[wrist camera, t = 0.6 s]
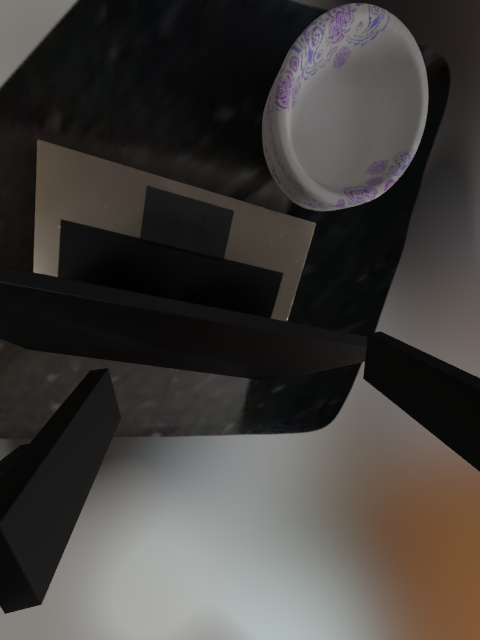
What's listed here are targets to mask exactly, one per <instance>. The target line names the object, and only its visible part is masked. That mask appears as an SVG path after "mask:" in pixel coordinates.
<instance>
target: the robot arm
mask: <svg viewBox="0 0 480 640" xmlns="http://www.w3.org/2000/svg"><path fill="white" fill-rule="evenodd" d="M364 379H365V380H366V381H367V382H368V383H370V384H371V385H372V386H374V387H375V388H376V389H377V390H378V391H380V392H381V393H382V394H383V395H385V396H386V397H387V398H388V399H390V400H391V401H392V402H393V403H395V404H396V405H397V406H399V407H400V408H401V409H402V410H403V411H405V412H406V413H407V414H408V415H410V416H411V417H412V418H413V419H415V420H416V421H417V422H418V423H420V424H421V425H422V426H423V427H425V428H426V429H427V430H428V431H430V432H431V433H432V434H433V435H435V436H436V437H437V438H438V439H440V440H441V441H442V442H443V443H445V444H446V445H447V446H448V447H450V448H451V449H452V450H453V451H455V452H456V453H457V454H458V455H460V456H461V457H462V458H463V459H465V460H466V461H467V462H468V463H470V464H471V465H472V466H473V467H475V468H476V469H477V470H478V471H480V378H478V377H476V376H474V375H471V374H469V373H467V372H465V371H463V370H461V369H459V368H457V367H455V366H453V365H450V364H448V363H446V362H444V361H442V360H440V359H437V358H436V357H433V356H431V355H429V354H427V353H425V352H423V351H421V350H419V349H417V348H414V347H412V346H410V345H408V344H406V343H404V342H402V341H400V340H397V339H395V338H393V337H391V336H389V335H387V334H385V333H383V332H375V333H368V338H367V348H366V358H365V369H364ZM120 419H121V416H120V412H119V408H118V405H117V401H116V397H115V393H114V389H113V385H112V381H111V378H110V374H109V370H108V368H106V369H99V370H91V371H90V372H89V373H88V374H87V375H86V376H85V378H84V379H83V380H82V381H81V382H80V384H79V385H78V386H77V387H76V388H75V390H74V391H73V392H72V393H71V394H70V396H69V397H68V398H67V399H66V400H65V402H64V403H63V404H62V405H61V406H60V408H59V409H58V410H57V411H56V412H55V414H54V415H53V416H52V417H51V418H50V420H49V421H48V422H47V423H46V424H45V426H44V427H43V428H42V429H41V431H40V432H39V433H38V434H37V435H36V437H35V438H34V439H33V440H32V441H31V443H30V444H26V445H20V446H19V447H18V448H17V449H15V450H14V451H12V452H11V453H10V454H8V455H7V456H6V457H4V458H3V459H2V460H1V461H0V606H1V608H2V609H3V611H4V613H5V614H6V613H10V612H14V611H18V610H22V609H25V608H30V607H34V606H37V605H41V604H42V602H43V599H44V597H45V594H46V592H47V590H48V587H49V585H50V583H51V580H52V578H53V576H54V573H55V571H56V569H57V566H58V564H59V562H60V559H61V557H62V555H63V552H64V550H65V548H66V545H67V543H68V541H69V538H70V536H71V534H72V531H73V529H74V527H75V524H76V522H77V520H78V517H79V515H80V513H81V510H82V508H83V506H84V503H85V501H86V499H87V496H88V494H89V492H90V489H91V487H92V484H93V482H94V480H95V478H96V475H97V473H98V471H99V468H100V466H101V463H102V461H103V459H104V456H105V454H106V452H107V450H108V447H109V445H110V442H111V440H112V438H113V435H114V433H115V431H116V428H117V426H118V424H119V421H120Z"/></svg>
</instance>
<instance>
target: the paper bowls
mask: <svg viewBox="0 0 480 640" xmlns="http://www.w3.org/2000/svg"><path fill="white" fill-rule="evenodd" d="M427 110H428V82H427V74H426V69H425V65H424V61H423V58H422V55H421V52H420V50H419V48H418V45H417V43H416V41H415V39H414V37H413V36H412V35H411V33H410V32H409V30H408V29H407V28H406V27H405V25H404V24H403V23H402V22H401V21H400V20H398V18H397V17H396V16H394V15H393V14H391V13H389V12H388V11H386V10H384V9H382V8H380V7H378V6H375V5H370V4H364V3H353V4H346V5H342V6H339V7H336V8H334V9H332V10H329V11H328V12H326V13H324V14H323V15H321V16H320V17H318V18H317V19H316V20H314V21H313V22H312V23H311V24H310V25H309V26H308V27H307V28H306V29H305V30H304V31H303V32H302V34H301V35H300V36H299V37H298V39H297V40H296V41H295V43H294V44H293V45H292V47H291V48H290V50H289V52H288V54H287V56H286V58H285V60H284V62H283V64H282V66H281V69H280V71H279V73H278V75H277V77H276V79H275V82H274V84H273V86H272V88H271V91H270V93H269V96H268V99H267V102H266V105H265V108H264V112H263V119H262V143H263V151H264V156H265V160H266V163H267V166H268V169H269V171H270V173H271V176H272V178H273V179H274V181H275V182H276V184H277V186H278V187H279V188H280V190H281V191H282V192H283V193H284V194H285V195H286V196H287V197H288V198H289V199H290V200H291V201H292V202H294V203H296V204H298V205H300V206H301V207H304V208H307V209H311V210H316V211H330V210H338V209H343V208H348V207H353V206H356V205H360V204H363V203H365V202H369V201H371V200H373V199H375V198H377V197H378V196H380V195H381V194H383V193H384V192H385V191H387V190H388V189H389V188H390V187H391V186H392V185H393V184H394V183H395V182H396V181H397V180H398V179H399V177H401V175H402V174H403V173H404V171H405V170H406V169H407V167H408V166H409V164H410V162H411V160H412V159H413V157H414V155H415V153H416V151H417V148H418V146H419V143H420V141H421V138H422V135H423V131H424V127H425V123H426V117H427Z"/></svg>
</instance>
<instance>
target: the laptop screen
mask: <svg viewBox="0 0 480 640" xmlns="http://www.w3.org/2000/svg"><path fill="white" fill-rule="evenodd" d="M367 338H368V337H364V336H359V335H354V334H349V333H344V332H339V331H334V330H328V329H323V328H318V327H313V326H308V325H303V324H297V323H292V322H287V321H282V320H277V319H272V318H266V317H261V316H256V315H251V314H246V313H241V312H236V311H230V310H225V309H220V308H215V307H210V306H205V305H199V304H194V303H189V302H184V301H179V300H174V299H168V298H163V297H158V296H153V295H148V294H143V293H138V292H132V291H127V290H122V289H117V288H112V287H107V286H101V285H96V284H91V283H86V282H81V281H76V280H70V279H65V278H60V277H55V276H50V275H45V274H40V273H34V272H29V271H24V270H19V269H14V268H9V267H3V266H0V339H2V340H5V341H7V342H10V343H13V344H15V345H18V346H20V347H23V348H25V349H28V350H35V351H43V352H50V353H58V354H66V355H73V356H81V357H89V358H96V359H104V360H112V361H119V362H127V363H135V364H142V365H150V366H157V367H165V368H173V369H180V370H188V371H196V372H203V373H211V374H219V375H226V376H234V377H242V378H249V379H257V380H264V381H275V380H280V379H284V378H289V377H294V376H298V375H303V374H308V373H313V372H317V371H322V370H327V369H331V368H336V367H341V366H346V365H350V364H355V363H360V362H364V361H365V358H366V348H367Z"/></svg>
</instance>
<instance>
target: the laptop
mask: <svg viewBox="0 0 480 640" xmlns="http://www.w3.org/2000/svg"><path fill="white" fill-rule="evenodd" d="M315 226H316V223H313V222H310V221H307V220H303V219H300V218H297V217H293V216H290V215H287V214H283V213H280V212H277V211H274V210H270V209H267V208H264V207H260V206H257V205H254V204H250V203H247V202H244V201H241V200H237V199H234V198H231V197H227V196H224V195H221V194H217V193H214V192H211V191H207V190H204V189H201V188H198V187H194V186H191V185H188V184H184V183H181V182H178V181H174V180H171V179H168V178H165V177H161V176H158V175H155V174H151V173H148V172H145V171H141V170H138V169H135V168H131V167H128V166H125V165H122V164H118V163H115V162H112V161H108V160H105V159H102V158H98V157H95V156H92V155H89V154H85V153H82V152H79V151H75V150H72V149H69V148H65V147H62V146H59V145H55V144H52V143H49V142H46V141H42V140H39V139H37V169H36V201H35V232H34V264H33V272H34V273H40V274H45V275H50V276H55V277H60V278H65V279H70V280H76V281H81V282H86V283H91V284H96V285H101V286H107V287H112V288H117V289H122V290H127V291H132V292H138V293H143V294H148V295H153V296H158V297H163V298H168V299H174V300H179V301H184V302H189V303H194V304H199V305H205V306H210V307H215V308H220V309H225V310H230V311H236V312H241V313H246V314H251V315H256V316H261V317H266V318H272V319H277V320H282V321H287V320H288V317H289V314H290V310H291V307H292V303H293V300H294V297H295V293H296V290H297V286H298V283H299V280H300V276H301V273H302V270H303V266H304V263H305V259H306V256H307V253H308V249H309V246H310V242H311V239H312V236H313V232H314V229H315Z"/></svg>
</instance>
